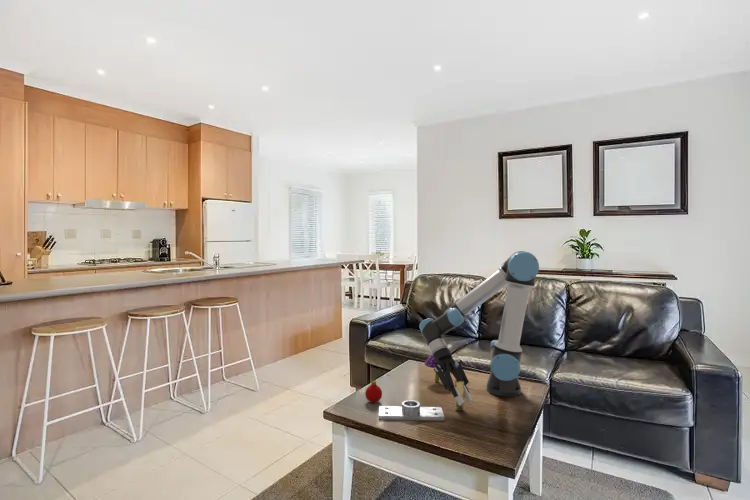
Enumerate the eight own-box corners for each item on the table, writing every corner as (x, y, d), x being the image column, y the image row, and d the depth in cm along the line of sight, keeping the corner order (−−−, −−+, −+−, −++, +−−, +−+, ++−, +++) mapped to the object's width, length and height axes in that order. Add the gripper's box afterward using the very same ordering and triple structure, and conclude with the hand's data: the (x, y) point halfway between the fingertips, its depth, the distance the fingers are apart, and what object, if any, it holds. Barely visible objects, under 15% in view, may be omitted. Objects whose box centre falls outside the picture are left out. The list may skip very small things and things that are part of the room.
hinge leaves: (441, 410, 163) (441, 399, 163) (444, 420, 154) (444, 408, 154) (379, 409, 164) (379, 398, 163) (378, 419, 155) (378, 407, 154)
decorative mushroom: (419, 382, 196) (419, 351, 196) (432, 375, 206) (433, 346, 205) (441, 388, 188) (441, 356, 188) (454, 381, 197) (454, 350, 197)
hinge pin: (463, 406, 165) (463, 380, 165) (464, 410, 162) (464, 383, 162) (454, 406, 165) (454, 380, 165) (455, 410, 162) (455, 383, 162)
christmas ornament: (379, 398, 176) (379, 375, 176) (383, 404, 169) (383, 380, 169) (363, 399, 174) (363, 376, 174) (367, 405, 167) (367, 382, 167)
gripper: (451, 353, 181) (477, 403, 166) (420, 358, 173) (445, 411, 159) (459, 344, 176) (486, 394, 162) (428, 349, 168) (453, 402, 154)
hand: (465, 402), depth 160 cm, fingers closed on hinge pin, 3 cm apart
